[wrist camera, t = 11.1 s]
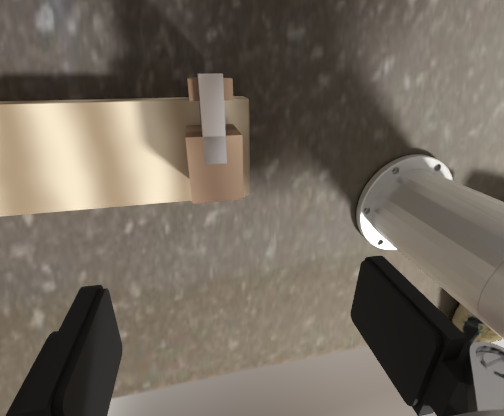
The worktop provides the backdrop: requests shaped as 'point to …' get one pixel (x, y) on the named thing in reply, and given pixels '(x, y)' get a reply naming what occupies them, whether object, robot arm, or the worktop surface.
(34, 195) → the birch board
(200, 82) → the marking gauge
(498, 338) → the mineral
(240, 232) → the worktop surface
